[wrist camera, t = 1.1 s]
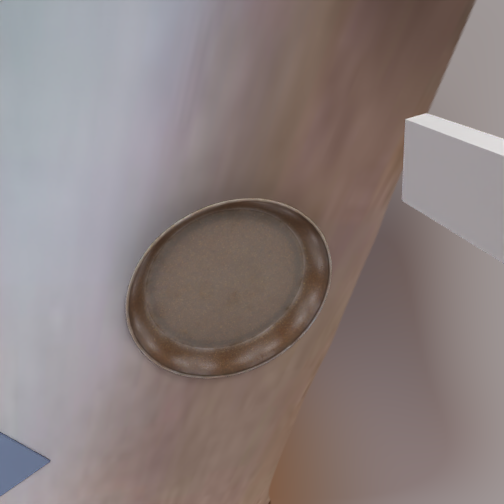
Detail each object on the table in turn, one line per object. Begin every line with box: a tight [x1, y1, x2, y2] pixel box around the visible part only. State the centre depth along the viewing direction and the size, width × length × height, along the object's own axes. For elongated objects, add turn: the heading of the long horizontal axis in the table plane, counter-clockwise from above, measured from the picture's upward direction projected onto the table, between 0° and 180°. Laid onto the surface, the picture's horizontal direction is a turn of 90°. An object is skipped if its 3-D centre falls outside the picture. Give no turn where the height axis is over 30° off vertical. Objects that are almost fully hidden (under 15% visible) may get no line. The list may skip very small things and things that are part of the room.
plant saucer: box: [125, 198, 332, 378], centre depth 44 cm, size 21×21×3 cm
